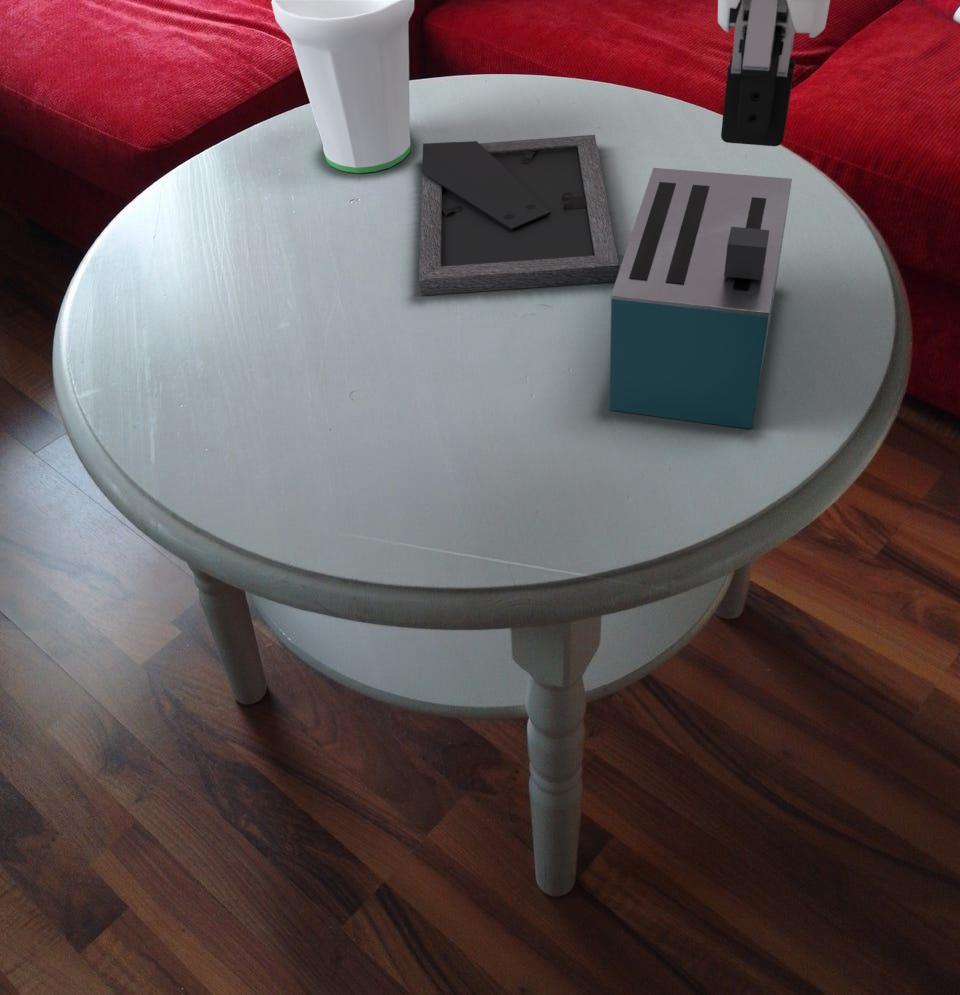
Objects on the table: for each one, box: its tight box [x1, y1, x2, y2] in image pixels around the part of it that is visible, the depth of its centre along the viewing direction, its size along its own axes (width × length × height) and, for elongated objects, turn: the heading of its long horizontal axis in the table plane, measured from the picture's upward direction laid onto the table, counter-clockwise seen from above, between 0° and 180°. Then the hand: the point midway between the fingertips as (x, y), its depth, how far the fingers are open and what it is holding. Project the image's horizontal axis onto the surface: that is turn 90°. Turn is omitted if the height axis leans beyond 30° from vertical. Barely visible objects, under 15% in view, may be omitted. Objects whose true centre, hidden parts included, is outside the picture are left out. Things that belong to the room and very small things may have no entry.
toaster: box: [608, 167, 793, 430], centre depth 78 cm, size 10×16×10 cm, turn 164°
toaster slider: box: [724, 227, 769, 280], centre depth 70 cm, size 2×2×2 cm
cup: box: [271, 0, 415, 174], centre depth 100 cm, size 12×12×15 cm
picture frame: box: [418, 134, 620, 296], centre depth 95 cm, size 16×2×21 cm
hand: (752, 136), depth 58 cm, fingers closed
